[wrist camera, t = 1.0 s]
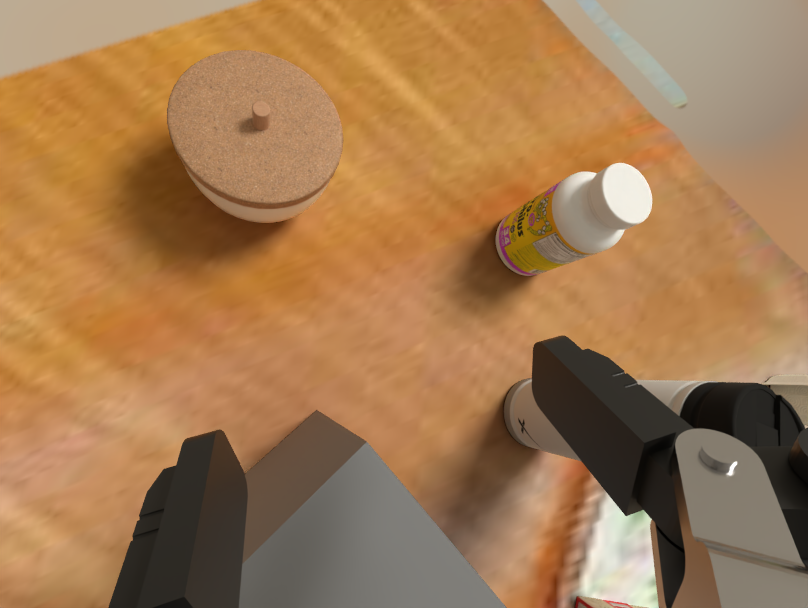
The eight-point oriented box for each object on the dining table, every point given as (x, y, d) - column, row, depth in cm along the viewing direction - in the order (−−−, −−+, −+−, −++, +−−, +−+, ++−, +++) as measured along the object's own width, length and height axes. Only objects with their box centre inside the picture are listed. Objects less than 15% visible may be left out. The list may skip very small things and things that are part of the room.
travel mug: (494, 440, 36) (741, 510, 18) (510, 369, 38) (750, 365, 19) (550, 458, 38) (830, 538, 19) (563, 389, 40) (831, 402, 21)
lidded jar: (180, 115, 32) (150, 17, 23) (317, 120, 36) (335, 38, 27) (196, 246, 31) (170, 195, 22) (335, 237, 34) (360, 190, 26)
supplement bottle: (511, 201, 41) (613, 130, 29) (557, 241, 42) (674, 189, 30) (481, 250, 39) (578, 195, 27) (530, 290, 40) (645, 255, 28)
